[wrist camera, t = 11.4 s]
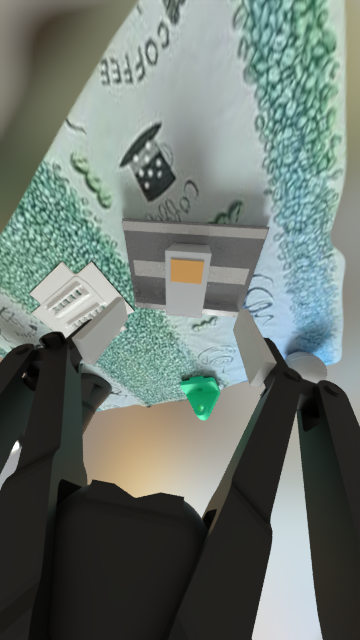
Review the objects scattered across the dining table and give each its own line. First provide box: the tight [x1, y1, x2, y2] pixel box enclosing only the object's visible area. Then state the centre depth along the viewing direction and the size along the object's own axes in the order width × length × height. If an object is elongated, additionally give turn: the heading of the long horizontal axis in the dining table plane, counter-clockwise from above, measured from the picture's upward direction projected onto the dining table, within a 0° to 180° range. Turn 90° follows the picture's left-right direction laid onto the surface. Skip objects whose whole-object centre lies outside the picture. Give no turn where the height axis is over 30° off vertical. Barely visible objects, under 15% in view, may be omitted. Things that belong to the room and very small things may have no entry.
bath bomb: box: [285, 352, 327, 384], centre depth 35 cm, size 8×8×8 cm
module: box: [165, 243, 211, 318], centre depth 24 cm, size 6×10×8 cm, turn 178°
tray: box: [30, 262, 134, 338], centre depth 38 cm, size 20×28×4 cm
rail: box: [122, 219, 269, 317], centre depth 27 cm, size 24×16×3 cm, turn 88°
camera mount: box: [180, 376, 220, 420], centre depth 46 cm, size 12×8×10 cm, turn 113°
